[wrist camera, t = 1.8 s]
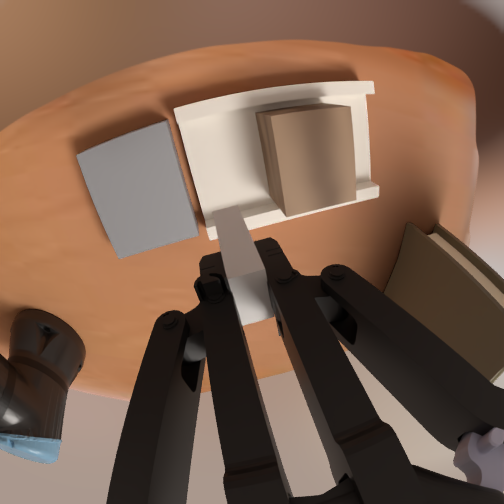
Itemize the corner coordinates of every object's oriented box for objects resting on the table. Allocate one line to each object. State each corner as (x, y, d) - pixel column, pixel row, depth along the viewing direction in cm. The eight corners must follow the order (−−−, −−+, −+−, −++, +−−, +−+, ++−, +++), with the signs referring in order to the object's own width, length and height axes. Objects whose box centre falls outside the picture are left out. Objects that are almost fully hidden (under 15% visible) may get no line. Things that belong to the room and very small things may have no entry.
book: (400, 311, 54) (468, 410, 31) (368, 318, 52) (437, 432, 29) (439, 224, 42) (544, 324, 20) (406, 222, 40) (527, 342, 17)
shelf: (208, 228, 34) (210, 240, 31) (175, 108, 26) (173, 108, 23) (366, 189, 36) (378, 197, 33) (359, 80, 27) (373, 81, 25)
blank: (270, 196, 32) (286, 217, 27) (254, 112, 27) (270, 116, 22) (331, 182, 33) (356, 200, 28) (323, 102, 27) (350, 106, 22)
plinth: (123, 246, 32) (118, 259, 30) (85, 149, 25) (76, 155, 23) (197, 224, 33) (199, 235, 31) (168, 119, 26) (165, 121, 24)
